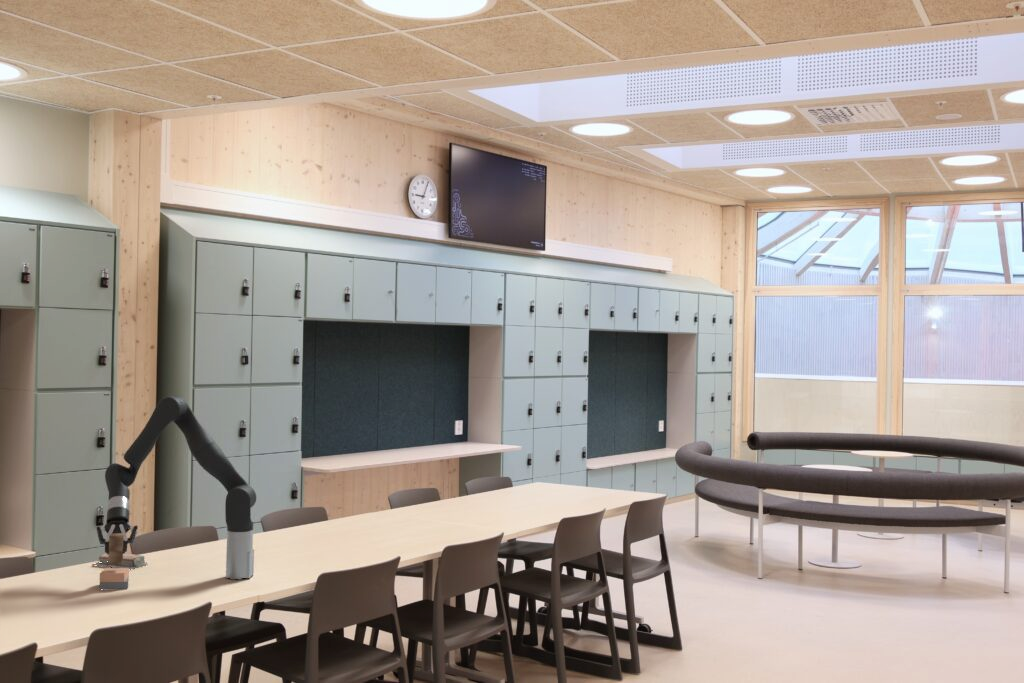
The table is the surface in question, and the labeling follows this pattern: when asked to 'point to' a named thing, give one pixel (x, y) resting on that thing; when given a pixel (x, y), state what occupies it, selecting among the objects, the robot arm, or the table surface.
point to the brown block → (116, 549)
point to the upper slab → (114, 574)
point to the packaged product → (128, 561)
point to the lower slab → (114, 585)
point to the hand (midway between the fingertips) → (115, 552)
